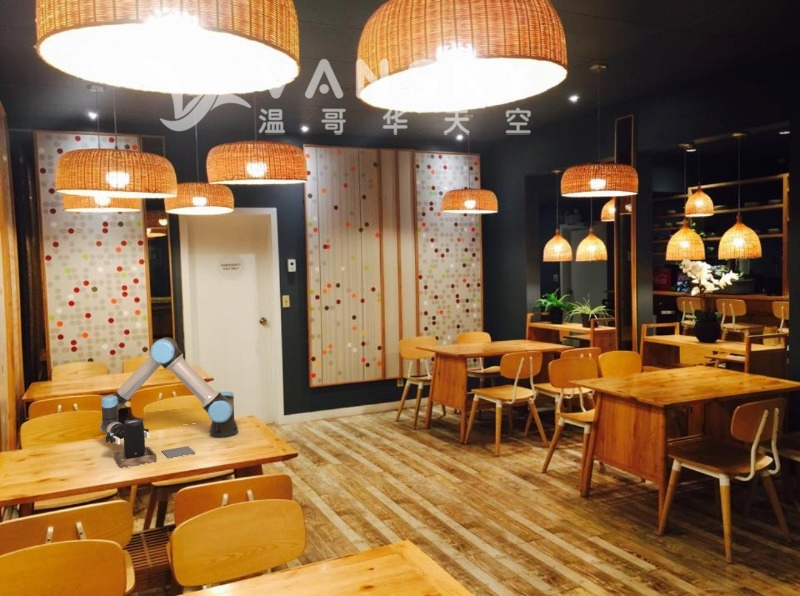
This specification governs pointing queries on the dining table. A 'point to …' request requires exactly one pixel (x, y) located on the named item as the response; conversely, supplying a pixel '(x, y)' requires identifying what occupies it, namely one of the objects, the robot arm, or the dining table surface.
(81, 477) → the dining table surface
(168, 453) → the rubber mat
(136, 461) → the walnut collar
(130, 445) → the portable speaker
